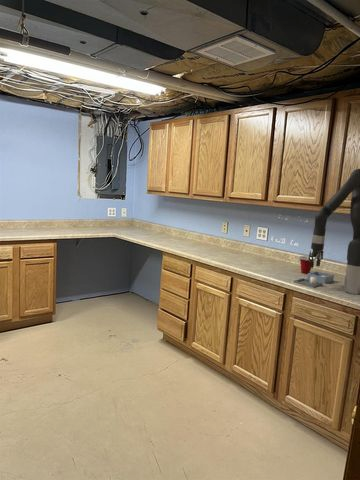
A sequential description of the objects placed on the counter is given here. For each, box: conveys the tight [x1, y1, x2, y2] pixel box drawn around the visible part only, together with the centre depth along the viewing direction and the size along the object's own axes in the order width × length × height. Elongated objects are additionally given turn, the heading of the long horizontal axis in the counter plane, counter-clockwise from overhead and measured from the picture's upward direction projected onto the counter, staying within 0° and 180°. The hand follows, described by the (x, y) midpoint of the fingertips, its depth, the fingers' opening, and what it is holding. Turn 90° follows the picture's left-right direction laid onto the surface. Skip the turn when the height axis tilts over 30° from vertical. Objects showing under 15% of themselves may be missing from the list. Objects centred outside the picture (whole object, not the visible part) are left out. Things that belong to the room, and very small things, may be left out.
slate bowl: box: [306, 270, 335, 284], centre depth 250 cm, size 13×13×4 cm
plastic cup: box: [299, 255, 312, 275], centre depth 269 cm, size 11×11×12 cm
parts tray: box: [293, 278, 324, 289], centre depth 239 cm, size 14×12×2 cm
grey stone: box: [310, 277, 317, 285], centre depth 236 cm, size 4×4×5 cm
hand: (314, 266), depth 235 cm, fingers open, 8 cm apart
